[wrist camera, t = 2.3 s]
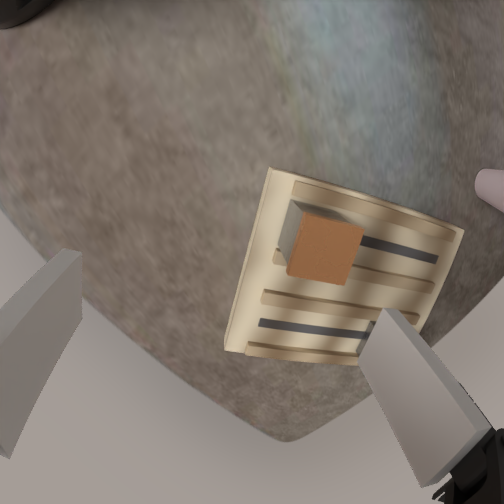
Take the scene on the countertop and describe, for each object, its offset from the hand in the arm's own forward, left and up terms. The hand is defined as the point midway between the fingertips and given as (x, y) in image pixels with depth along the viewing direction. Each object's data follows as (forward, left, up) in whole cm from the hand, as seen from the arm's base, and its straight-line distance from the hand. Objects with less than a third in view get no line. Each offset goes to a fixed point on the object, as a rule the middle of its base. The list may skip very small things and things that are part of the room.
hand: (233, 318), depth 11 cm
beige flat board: (+14, -5, -18) cm, 23 cm away
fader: (+7, 0, -16) cm, 17 cm away
